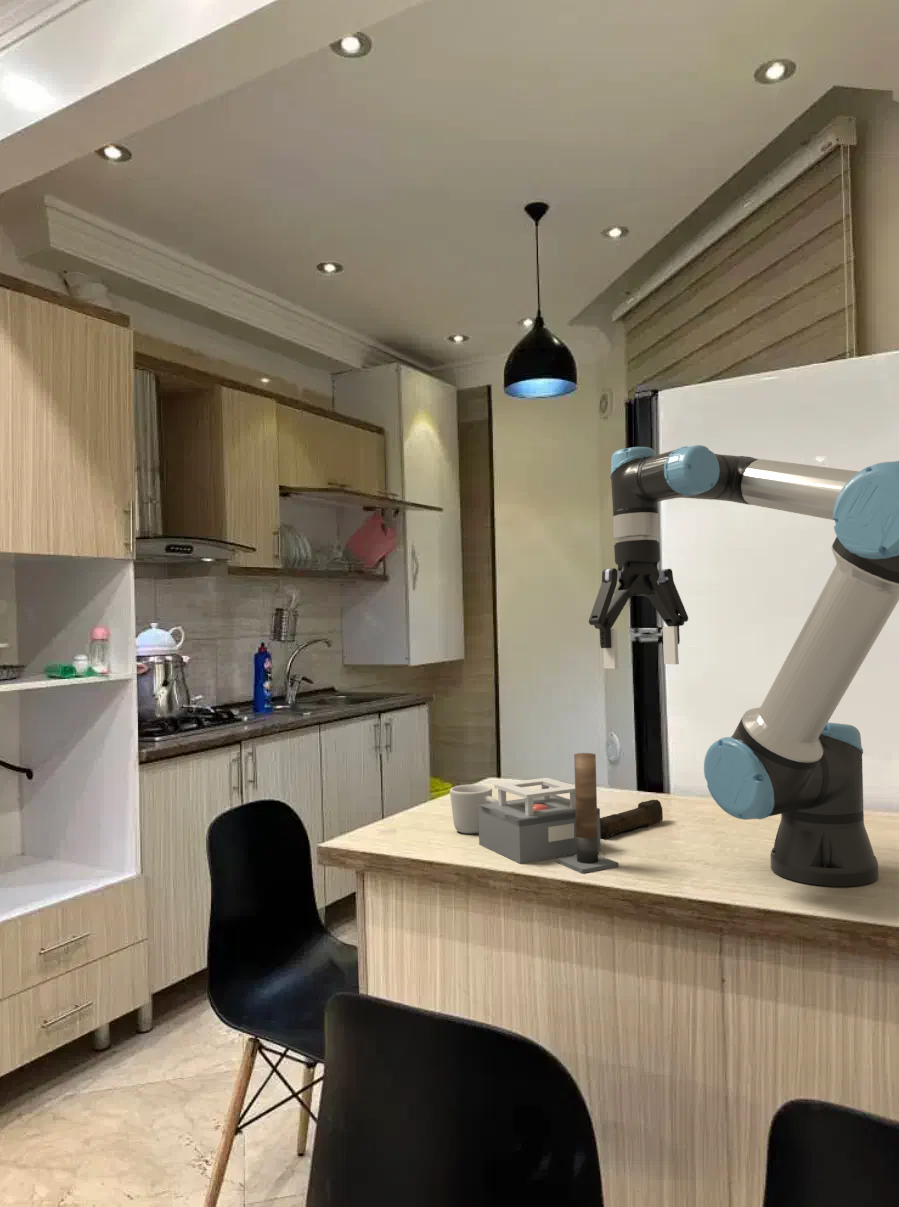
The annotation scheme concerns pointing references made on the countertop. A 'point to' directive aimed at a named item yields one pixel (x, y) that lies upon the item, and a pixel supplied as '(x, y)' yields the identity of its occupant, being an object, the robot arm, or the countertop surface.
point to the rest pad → (583, 867)
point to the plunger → (539, 807)
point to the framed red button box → (531, 821)
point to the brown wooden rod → (586, 808)
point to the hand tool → (632, 818)
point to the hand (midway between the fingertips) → (641, 666)
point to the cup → (469, 806)
